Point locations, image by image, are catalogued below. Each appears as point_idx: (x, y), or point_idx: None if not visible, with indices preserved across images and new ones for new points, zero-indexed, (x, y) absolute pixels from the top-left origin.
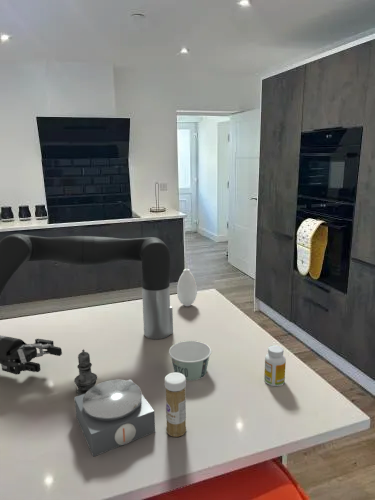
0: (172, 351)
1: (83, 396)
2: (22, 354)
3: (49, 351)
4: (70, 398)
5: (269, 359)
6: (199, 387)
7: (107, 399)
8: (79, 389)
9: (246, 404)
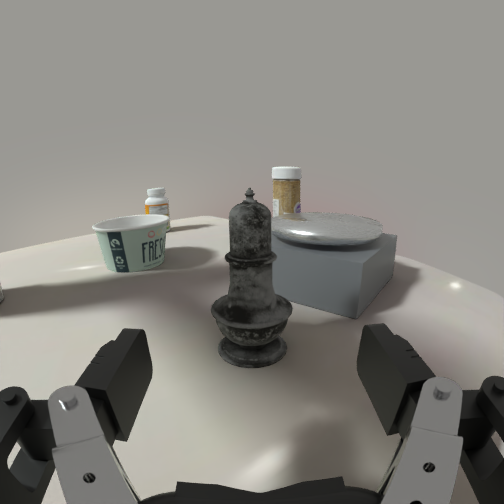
0: (117, 237)
1: (346, 257)
2: (414, 473)
3: (120, 423)
4: (309, 360)
5: (163, 198)
6: (182, 252)
7: (338, 221)
8: (263, 354)
9: (208, 234)
